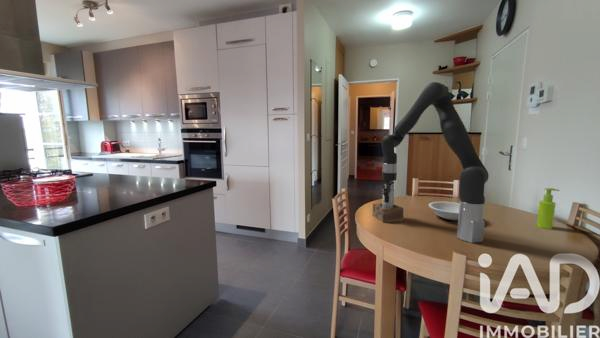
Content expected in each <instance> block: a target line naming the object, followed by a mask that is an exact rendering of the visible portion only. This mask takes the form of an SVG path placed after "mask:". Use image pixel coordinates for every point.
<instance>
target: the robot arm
mask: <svg viewBox="0 0 600 338" xmlns="http://www.w3.org/2000/svg"><path fill="white" fill-rule="evenodd" d="M431 105H433V107H434V108H435V110H436V112H437V114H438V116H439V125H440V130H441V134H442V135H443V138H444V140H445V142H446V144H447V146H448V147H449V149H451V151H452V152H453V153H454V154H455V156H456V157H457V158H458V159H459V162H460V164H461V166H462V171H461V173H460V177H459V187H458V188H459V192H458V193H459V203H460V206H459V217H458V220H457V231H456V237H457V238H458V239H460V240H461V241H464V242H468V243H471V244H473V243H482V242H483V241H484V232H485V225H486V224H485V223H486V222H485V220H484V212H485V203H486V202H485V201H486V198H485V196H484V195H485V194H484V193H485V185H486V183H487V182H488V180H489V171H488V169H487V168H486V167H485V165H484V164H483V162H482V161H481V159H480V158H479V156H478V154H477V152H476V150H475V147H474V144H473V142H472V139H471V137H470V135H469V132H468V130H467V128H466V126H465V124H464V122H463V120H462V118H461V116H460V115H459V112H457V109H456V108H455V105H454V103H453V101H452V98H451V94H450V91H449V89H448V87H447V86H446V85H445V84H443V83H440V82H436V81H435V82H430V83H428V84H427V85H425V87H424V88H423V90H422V91H421V93H420V94H419V96H418V97H417V99H416V100H415V101H414V104H413V105H412V106H411V107H410V109H409V110H408V112H407V113H406V114H405V115H404V116H403V117H402V118H401V120H400V121H398V122H397V124H396V125H395V127H394V131H393V132H392V134H386V135H384V136H383V138H382V139H381V150H382V155H383V160H382V161H383V162H382V170H381V171H382V173H381V180H382V181H385V183H384V184H383V185H382V187H383V188H382V196H383V195H384V196H385V200H384V202H385V203H388V202H389V194H390V192H391V187H392V186H393V188H394V189H395V182H396V181H397V179H398V178H397V177H398V176H397V174H398V173H397V172H398V164H397V161H398V154H397V153H396V152H395V148H398V146H399V145H400V144H401V143H402V142H403V140H404V138H405V137H406V135H407V134H409V133H410V132H411V130H412V129H413V128H414V127H415V125H416V124H418V121H419V119H420V118H421V117H422V115H423V113H424V112H425V111H426V110H427V109H428V108H429V107H430V106H431ZM388 189H390V190H388ZM386 192H387V193H386Z"/></svg>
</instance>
